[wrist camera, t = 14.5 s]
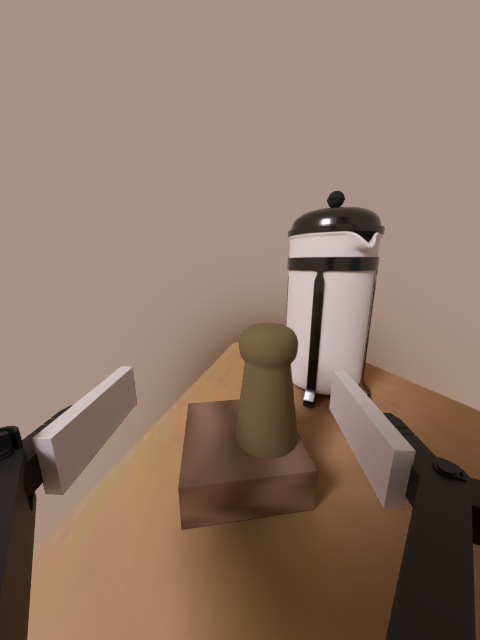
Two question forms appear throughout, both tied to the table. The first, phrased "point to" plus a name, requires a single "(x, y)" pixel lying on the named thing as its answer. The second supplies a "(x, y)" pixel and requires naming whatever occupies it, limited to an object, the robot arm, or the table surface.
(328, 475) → the table surface
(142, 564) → the table surface
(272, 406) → the olive pawn
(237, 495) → the walnut base
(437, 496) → the robot arm
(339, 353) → the coffee press
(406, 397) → the table surface
